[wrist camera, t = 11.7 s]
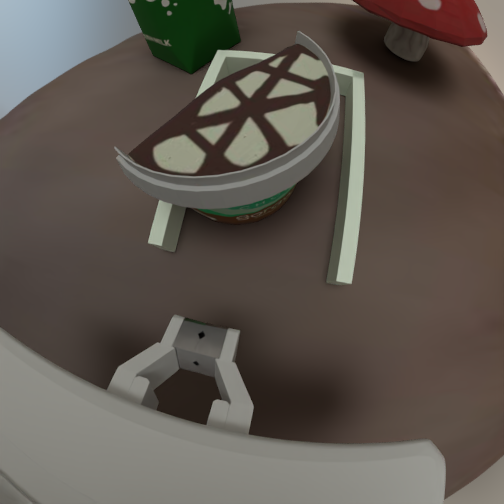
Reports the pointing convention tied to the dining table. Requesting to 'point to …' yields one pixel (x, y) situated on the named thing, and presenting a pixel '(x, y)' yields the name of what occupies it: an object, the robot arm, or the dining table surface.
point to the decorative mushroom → (427, 24)
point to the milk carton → (187, 29)
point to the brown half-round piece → (244, 138)
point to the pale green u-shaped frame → (351, 170)
